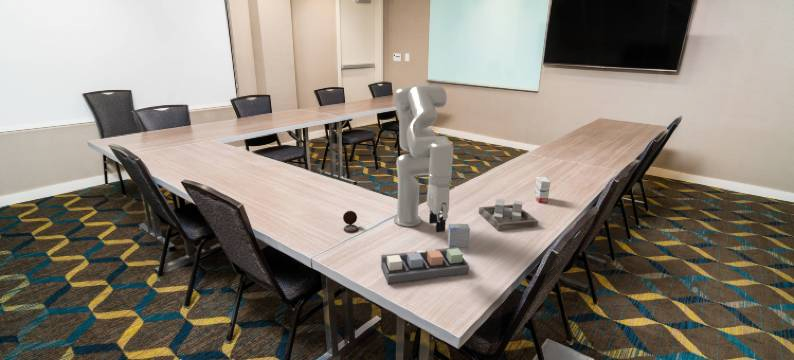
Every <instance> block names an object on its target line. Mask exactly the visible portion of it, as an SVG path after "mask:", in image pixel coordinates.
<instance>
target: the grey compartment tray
mask: <svg viewBox="0 0 794 360" xmlns="http://www.w3.org/2000/svg"><path fill="white" fill-rule="evenodd" d="M456 248H458V249H459V250H460V247H447V248H436V249H435V248H432V249H426V250H425V249H423V250H416V251H414V250H413V251H406V252H398V253H391V254H390V253H389V254H382V255H380V259H381V261H380V268H381V270H382V273H383V276H384V278H385V280H386V284H387V285H394V284H401V283H402V284H403V283H410V282H411V283H412V282H418V281H425V280H434V279H441V278H450V277H458V276H466V275H469V274H470V265H469V264H468V262H467V260H466V259H464V257H463V259H462V262H459V263H450V262H449V260H448V259H447V257H446V256H447V249H456ZM438 250H439V251H440V253H441V254H442V255H443V264H442V265H433V266H431V265H430V263H429V262H428V260H427V252H429V251H438ZM411 253H420V255H421V256H422V258H423V267H416V268H410V266H409V264H408V262H407V254H411ZM392 255H399V256H400V258H401V260H402V269H399V270H391V271H390V270H389V268H388V266H387V256H392Z"/></svg>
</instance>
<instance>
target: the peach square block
mask: <svg viewBox="0 0 794 360" xmlns="http://www.w3.org/2000/svg"><path fill="white" fill-rule="evenodd" d="M427 260H428V262H429V263H430V265H431V266H433V265H442V264H443V255H442V254H441V253H440V251H439V250H438V251H429V252H427Z"/></svg>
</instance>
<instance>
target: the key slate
mask: <svg viewBox="0 0 794 360" xmlns="http://www.w3.org/2000/svg"><path fill="white" fill-rule="evenodd" d="M407 262H408V264H409V266H410V268H416V267H423V258H422V256H421V255H420V253H411V254H407Z"/></svg>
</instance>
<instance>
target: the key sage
mask: <svg viewBox="0 0 794 360" xmlns="http://www.w3.org/2000/svg"><path fill="white" fill-rule="evenodd" d="M458 248H459V247H458ZM458 248H456V249H447V256H446V257H447V259H448V260H449V262H450V263H459V262H462V259H463V258H464V254H463V252H462V251H461V250H460V248H459V249H458Z"/></svg>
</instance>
